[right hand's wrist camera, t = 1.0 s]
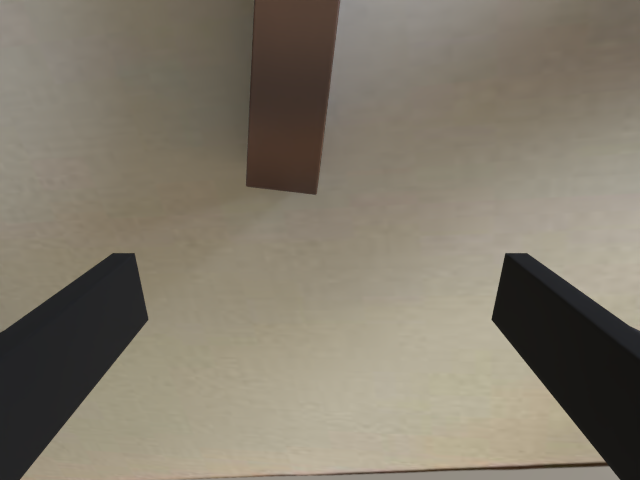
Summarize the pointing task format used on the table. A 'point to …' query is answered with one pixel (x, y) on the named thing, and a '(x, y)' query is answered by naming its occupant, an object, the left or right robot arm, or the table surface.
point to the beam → (289, 92)
